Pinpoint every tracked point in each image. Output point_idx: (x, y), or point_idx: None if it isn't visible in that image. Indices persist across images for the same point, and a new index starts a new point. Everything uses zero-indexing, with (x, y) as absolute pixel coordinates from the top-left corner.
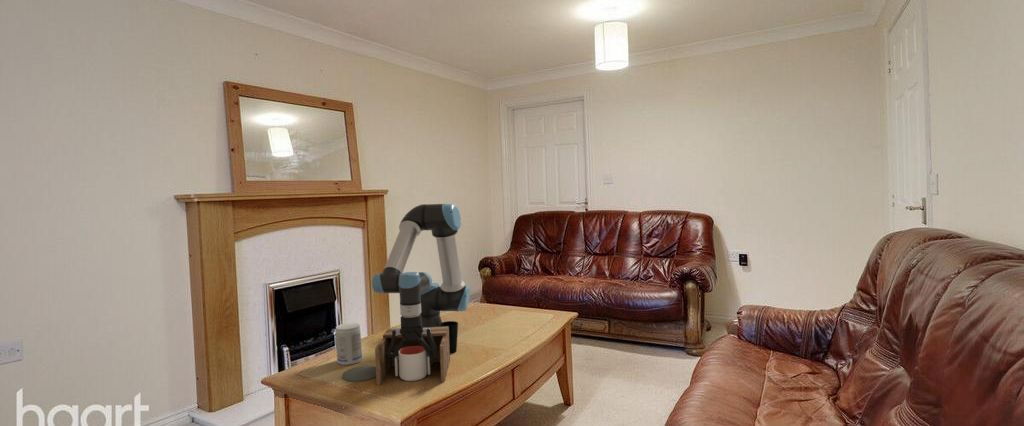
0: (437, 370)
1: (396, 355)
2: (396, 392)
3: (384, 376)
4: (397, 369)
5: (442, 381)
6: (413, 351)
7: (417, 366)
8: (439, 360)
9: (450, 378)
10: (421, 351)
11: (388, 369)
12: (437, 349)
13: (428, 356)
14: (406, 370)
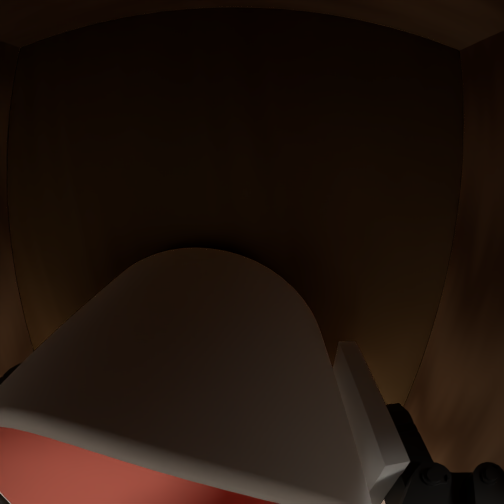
0: (404, 238)
1: (3, 20)
2: None
3: (17, 300)
4: None
5: None
6: (112, 360)
7: (251, 502)
8: (413, 28)
9: None
10: (289, 418)
11: (3, 171)
12: (502, 491)
13: (373, 501)
14: (164, 474)
